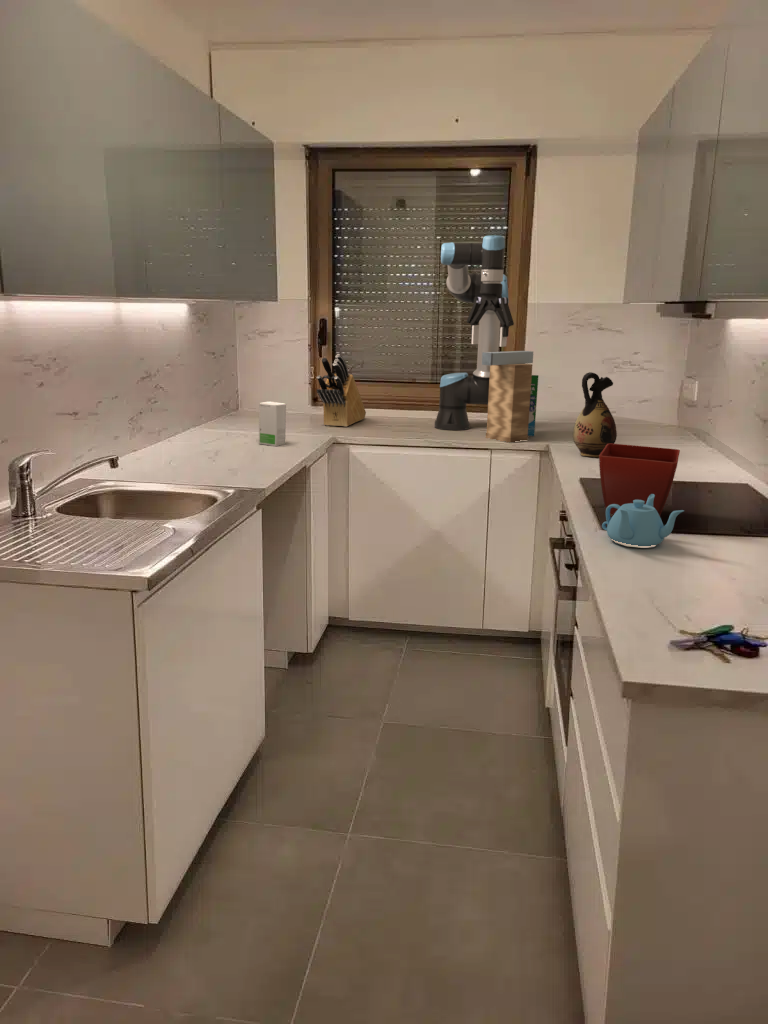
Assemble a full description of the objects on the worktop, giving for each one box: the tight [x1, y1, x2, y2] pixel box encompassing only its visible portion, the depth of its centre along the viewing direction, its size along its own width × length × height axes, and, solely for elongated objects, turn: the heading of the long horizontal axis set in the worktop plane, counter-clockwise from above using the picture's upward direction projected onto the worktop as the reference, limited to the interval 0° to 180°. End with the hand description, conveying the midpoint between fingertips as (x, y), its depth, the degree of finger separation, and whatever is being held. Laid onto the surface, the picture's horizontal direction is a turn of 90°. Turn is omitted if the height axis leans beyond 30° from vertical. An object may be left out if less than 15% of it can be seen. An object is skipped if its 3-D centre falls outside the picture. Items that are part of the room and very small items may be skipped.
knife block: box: [316, 353, 367, 428], centre depth 347 cm, size 11×35×31 cm, turn 163°
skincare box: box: [258, 400, 287, 447], centre depth 300 cm, size 8×7×16 cm
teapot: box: [601, 494, 685, 546], centre depth 188 cm, size 15×15×10 cm
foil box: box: [482, 350, 534, 366], centre depth 312 cm, size 5×24×5 cm, turn 129°
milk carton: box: [528, 374, 539, 437], centre depth 332 cm, size 9×9×25 cm
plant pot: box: [598, 443, 681, 517], centre depth 212 cm, size 19×19×17 cm
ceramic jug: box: [572, 371, 618, 458], centre depth 289 cm, size 17×15×30 cm
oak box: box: [485, 363, 533, 443], centre depth 318 cm, size 13×10×30 cm
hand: (488, 345), depth 283 cm, fingers open, 13 cm apart
